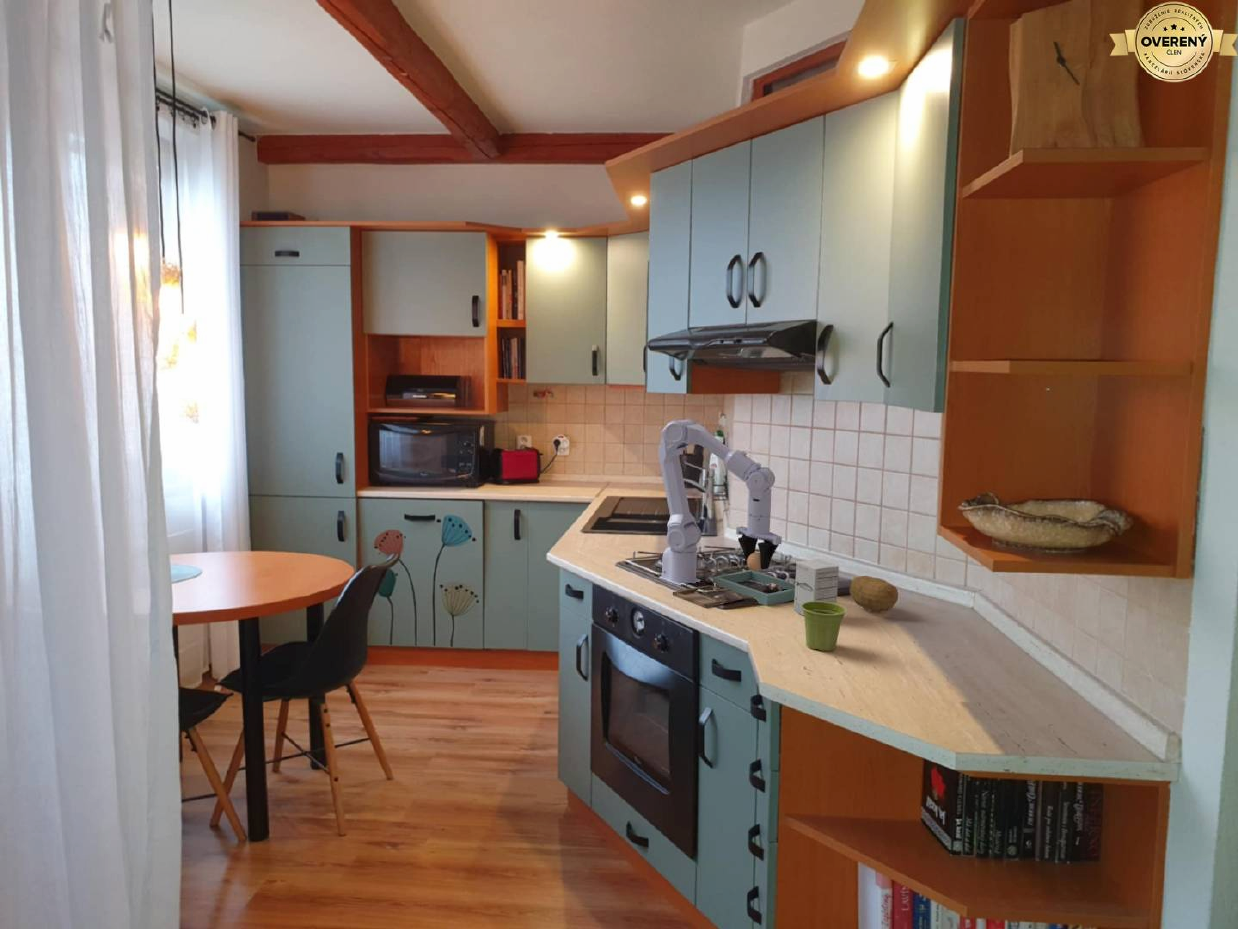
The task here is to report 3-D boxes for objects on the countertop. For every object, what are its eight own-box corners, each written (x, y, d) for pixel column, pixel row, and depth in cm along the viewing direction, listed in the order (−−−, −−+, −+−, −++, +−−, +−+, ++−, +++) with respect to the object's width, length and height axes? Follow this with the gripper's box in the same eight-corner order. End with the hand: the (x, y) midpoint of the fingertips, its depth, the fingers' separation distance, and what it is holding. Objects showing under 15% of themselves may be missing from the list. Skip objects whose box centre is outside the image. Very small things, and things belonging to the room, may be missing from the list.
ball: (742, 570, 215) (743, 551, 214) (757, 568, 217) (757, 549, 217) (755, 574, 210) (756, 555, 210) (770, 572, 213) (770, 553, 213)
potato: (869, 600, 211) (871, 569, 210) (907, 616, 198) (909, 584, 197) (837, 603, 208) (839, 572, 207) (874, 620, 195) (876, 587, 194)
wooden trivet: (672, 596, 211) (672, 592, 210) (709, 589, 218) (709, 585, 218) (705, 609, 200) (705, 604, 200) (743, 601, 208) (743, 597, 208)
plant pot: (826, 637, 183) (828, 599, 181) (853, 651, 174) (855, 612, 173) (790, 641, 179) (792, 603, 178) (815, 656, 170) (817, 616, 169)
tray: (712, 587, 219) (713, 576, 219) (750, 580, 227) (751, 569, 227) (766, 607, 203) (767, 595, 203) (805, 598, 211) (806, 587, 211)
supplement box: (792, 612, 200) (795, 561, 198) (816, 608, 204) (819, 558, 202) (812, 621, 194) (815, 568, 192) (837, 617, 197) (840, 565, 195)
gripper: (728, 511, 216) (726, 562, 217) (768, 521, 204) (766, 574, 206) (748, 509, 220) (746, 559, 221) (788, 518, 208) (786, 571, 210)
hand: (757, 566), depth 214 cm, fingers closed on ball, 5 cm apart
